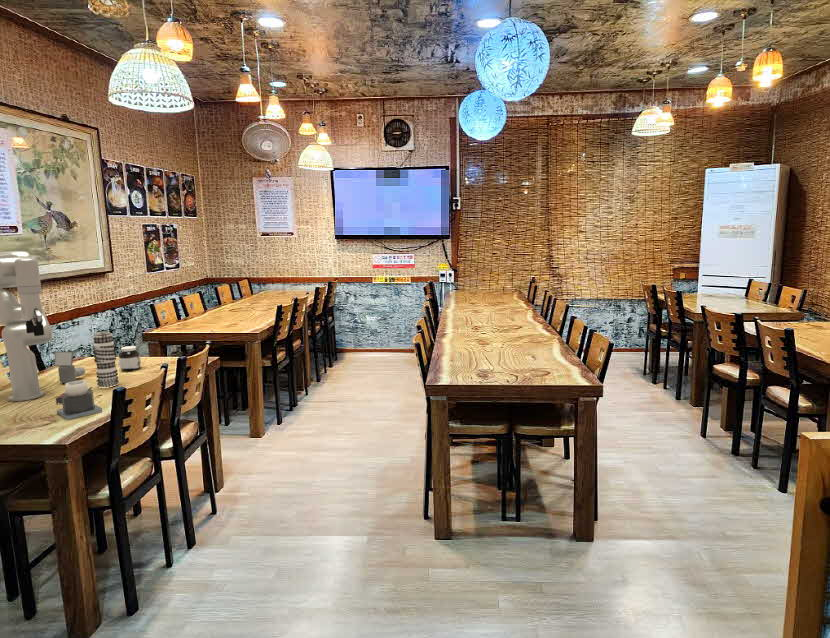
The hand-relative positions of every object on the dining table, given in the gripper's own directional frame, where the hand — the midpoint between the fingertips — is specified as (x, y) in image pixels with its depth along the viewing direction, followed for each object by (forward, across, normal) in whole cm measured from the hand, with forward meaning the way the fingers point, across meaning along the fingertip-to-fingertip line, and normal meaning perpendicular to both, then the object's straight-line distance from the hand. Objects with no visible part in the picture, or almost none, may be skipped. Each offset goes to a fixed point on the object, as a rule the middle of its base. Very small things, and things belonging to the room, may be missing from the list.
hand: (35, 334), depth 216 cm
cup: (+26, +17, +7) cm, 32 cm away
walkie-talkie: (+31, -8, +13) cm, 35 cm away
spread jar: (+31, -41, +48) cm, 70 cm away
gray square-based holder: (+30, +17, +7) cm, 35 cm away
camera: (+31, -39, +22) cm, 54 cm away
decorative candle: (+31, -15, +29) cm, 45 cm away
